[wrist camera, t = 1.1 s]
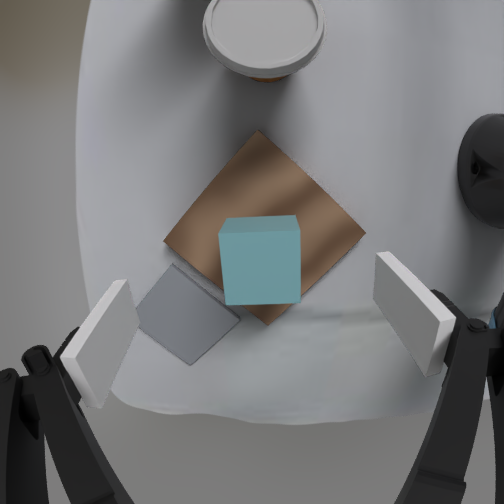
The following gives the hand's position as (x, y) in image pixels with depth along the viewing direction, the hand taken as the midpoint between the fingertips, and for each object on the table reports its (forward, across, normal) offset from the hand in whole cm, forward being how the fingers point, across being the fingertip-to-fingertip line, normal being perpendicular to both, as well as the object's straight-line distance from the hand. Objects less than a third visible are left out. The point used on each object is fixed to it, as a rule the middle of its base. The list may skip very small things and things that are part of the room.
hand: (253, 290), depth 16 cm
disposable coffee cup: (+21, -4, -16) cm, 27 cm away
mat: (+21, +10, +14) cm, 27 cm away
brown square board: (+20, -2, +4) cm, 21 cm away
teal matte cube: (+14, -1, +3) cm, 15 cm away
